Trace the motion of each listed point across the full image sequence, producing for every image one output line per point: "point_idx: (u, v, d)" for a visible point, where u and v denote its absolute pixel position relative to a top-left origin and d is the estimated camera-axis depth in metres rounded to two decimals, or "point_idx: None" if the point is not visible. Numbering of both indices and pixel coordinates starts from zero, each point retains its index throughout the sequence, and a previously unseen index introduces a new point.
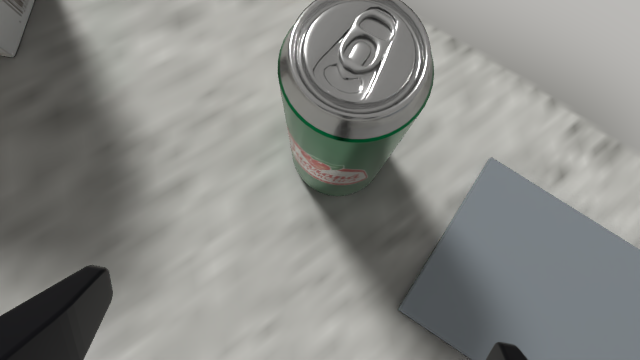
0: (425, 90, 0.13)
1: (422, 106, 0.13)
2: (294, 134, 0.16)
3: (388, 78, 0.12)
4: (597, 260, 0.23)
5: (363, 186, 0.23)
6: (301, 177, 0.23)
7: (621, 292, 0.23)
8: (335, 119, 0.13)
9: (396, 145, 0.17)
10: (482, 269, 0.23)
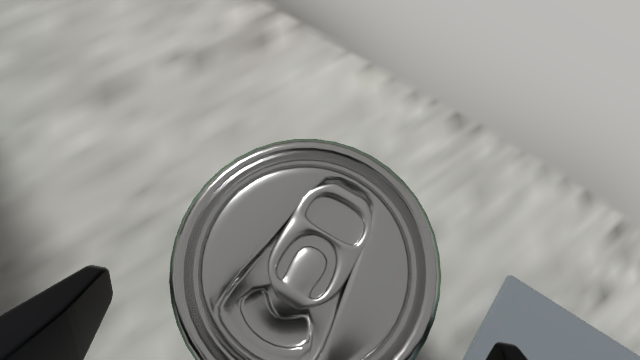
0: None
1: (422, 343, 0.08)
2: None
3: (358, 323, 0.07)
4: None
5: None
6: None
7: None
8: None
9: None
10: None
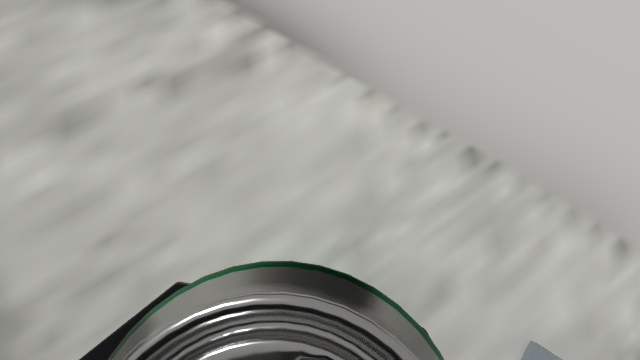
0: None
1: None
2: None
3: None
4: None
5: None
6: None
7: None
8: None
9: None
10: None
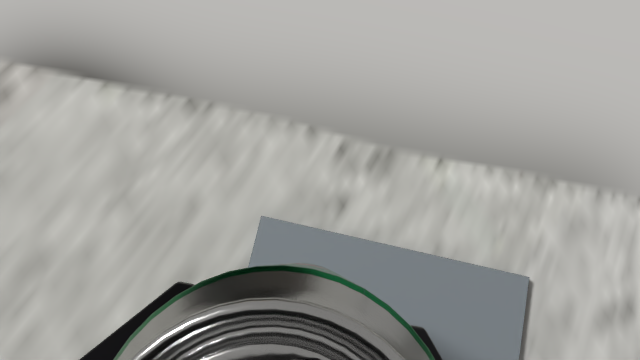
0: None
1: None
2: None
3: None
4: (399, 284, 0.21)
5: None
6: None
7: (432, 308, 0.21)
8: None
9: None
10: None
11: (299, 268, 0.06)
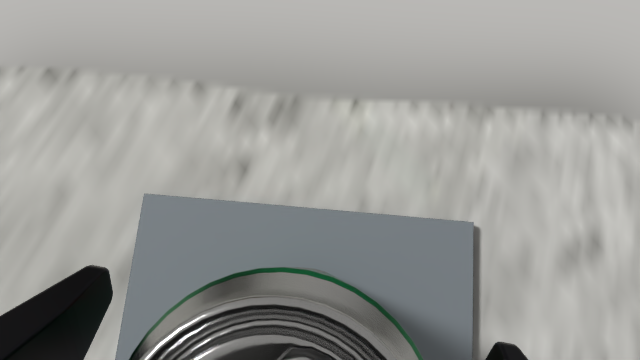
0: None
1: None
2: None
3: None
4: (319, 252, 0.18)
5: None
6: None
7: (362, 275, 0.17)
8: None
9: None
10: None
11: (297, 270, 0.07)
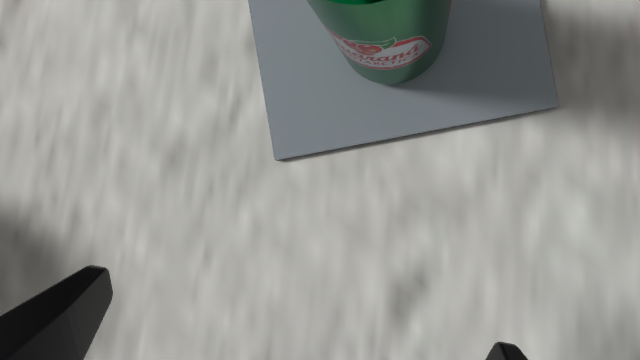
0: None
1: None
2: (326, 22, 0.14)
3: None
4: None
5: (432, 60, 0.19)
6: (361, 75, 0.21)
7: None
8: None
9: None
10: (308, 70, 0.22)
11: None
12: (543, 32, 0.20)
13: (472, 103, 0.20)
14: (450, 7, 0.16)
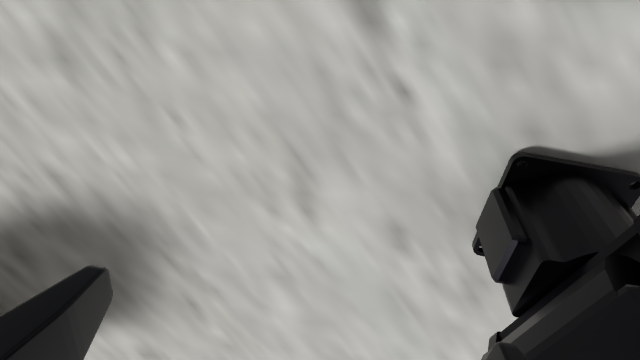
0: None
1: None
2: None
3: None
4: None
5: None
6: None
7: None
8: None
9: None
10: None
11: None
12: None
13: None
14: None
